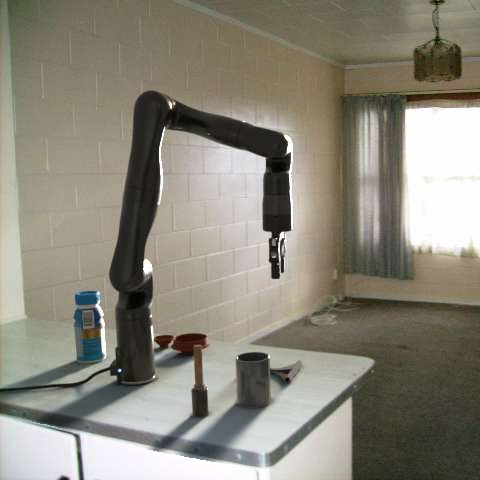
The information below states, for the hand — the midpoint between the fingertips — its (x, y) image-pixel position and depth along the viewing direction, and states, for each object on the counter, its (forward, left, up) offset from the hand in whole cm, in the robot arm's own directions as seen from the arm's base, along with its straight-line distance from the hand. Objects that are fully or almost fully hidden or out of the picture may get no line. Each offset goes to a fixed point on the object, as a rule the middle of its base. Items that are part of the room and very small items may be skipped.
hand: (278, 275), depth 161 cm
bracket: (-3, +7, -28) cm, 29 cm away
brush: (-19, -19, -28) cm, 39 cm away
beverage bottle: (-55, +27, -28) cm, 67 cm away
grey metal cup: (-7, -13, -28) cm, 32 cm away
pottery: (-30, +33, -28) cm, 52 cm away
